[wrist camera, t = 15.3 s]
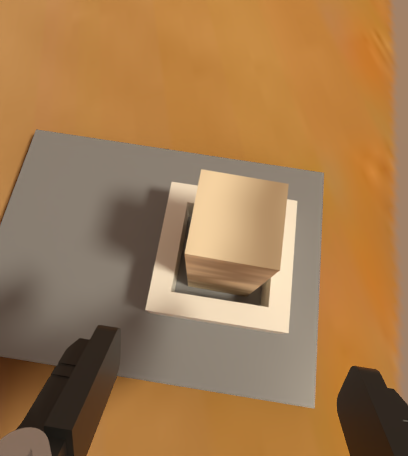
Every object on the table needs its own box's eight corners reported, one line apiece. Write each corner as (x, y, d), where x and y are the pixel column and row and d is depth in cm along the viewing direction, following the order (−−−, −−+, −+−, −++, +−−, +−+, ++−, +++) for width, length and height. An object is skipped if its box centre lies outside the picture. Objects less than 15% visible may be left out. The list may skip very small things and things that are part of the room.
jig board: (-32, 348, 24) (-81, 350, 20) (43, 139, 30) (18, 106, 25) (307, 404, 23) (332, 418, 19) (317, 180, 29) (338, 154, 25)
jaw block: (188, 286, 24) (184, 253, 15) (198, 231, 26) (201, 169, 16) (246, 296, 24) (280, 270, 15) (253, 240, 26) (288, 184, 16)
